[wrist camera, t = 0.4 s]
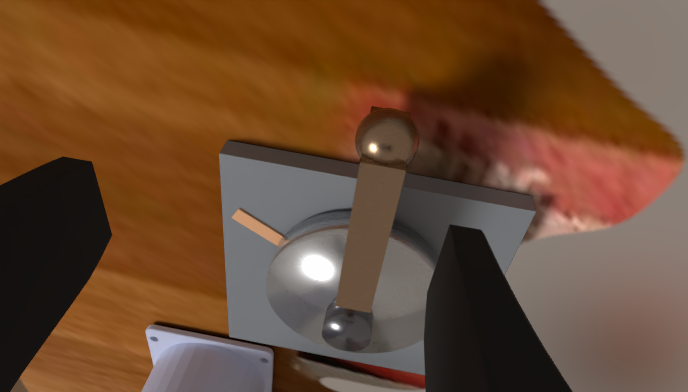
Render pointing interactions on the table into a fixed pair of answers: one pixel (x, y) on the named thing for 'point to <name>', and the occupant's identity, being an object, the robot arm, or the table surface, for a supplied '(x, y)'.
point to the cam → (359, 255)
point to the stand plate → (326, 197)
